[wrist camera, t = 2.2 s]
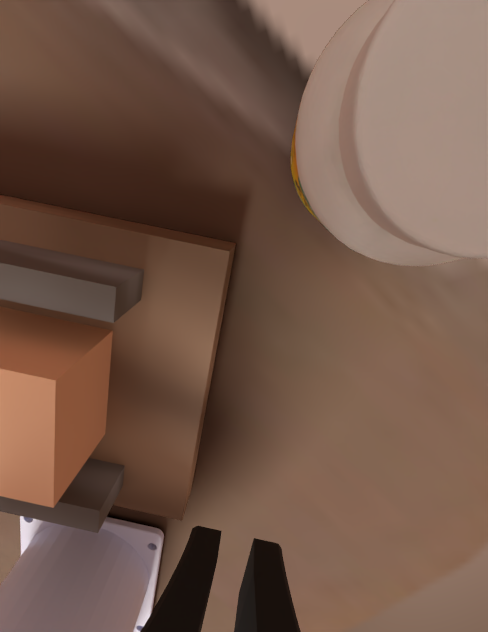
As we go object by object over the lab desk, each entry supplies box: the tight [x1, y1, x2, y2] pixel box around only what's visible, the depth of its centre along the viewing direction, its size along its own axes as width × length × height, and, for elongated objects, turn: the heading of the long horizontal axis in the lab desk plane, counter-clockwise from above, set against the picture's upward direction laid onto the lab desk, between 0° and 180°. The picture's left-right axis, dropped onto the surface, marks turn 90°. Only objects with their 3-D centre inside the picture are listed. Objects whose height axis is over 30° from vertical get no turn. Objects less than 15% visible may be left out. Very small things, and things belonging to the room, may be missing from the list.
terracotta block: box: [0, 307, 113, 508], centre depth 14 cm, size 5×5×4 cm
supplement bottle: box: [290, 0, 488, 266], centre depth 9 cm, size 5×5×10 cm
